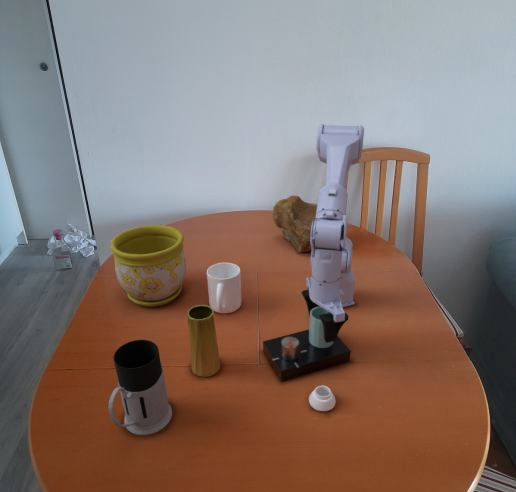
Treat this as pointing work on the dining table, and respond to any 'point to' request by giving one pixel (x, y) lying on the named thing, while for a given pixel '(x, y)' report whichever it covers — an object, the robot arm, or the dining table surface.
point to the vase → (203, 341)
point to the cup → (317, 328)
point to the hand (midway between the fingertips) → (322, 330)
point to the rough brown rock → (295, 221)
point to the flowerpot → (150, 263)
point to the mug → (224, 287)
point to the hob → (304, 356)
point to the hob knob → (290, 348)
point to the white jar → (322, 399)
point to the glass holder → (141, 388)
